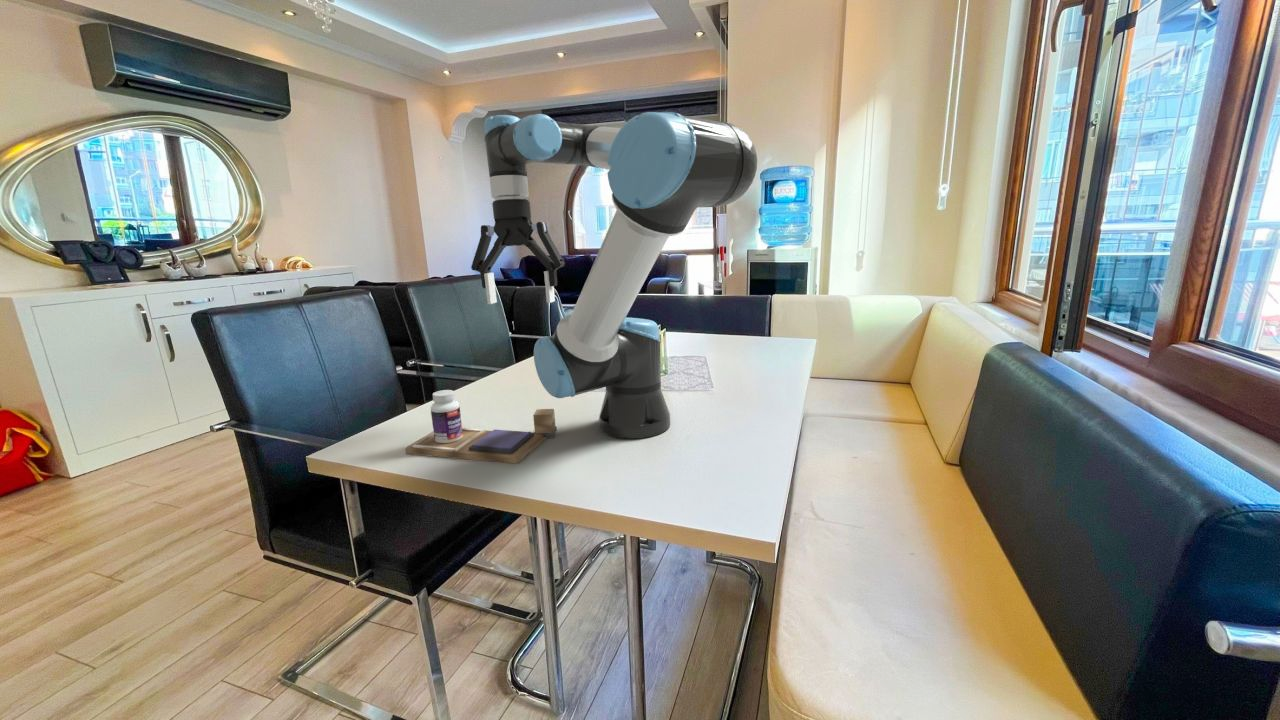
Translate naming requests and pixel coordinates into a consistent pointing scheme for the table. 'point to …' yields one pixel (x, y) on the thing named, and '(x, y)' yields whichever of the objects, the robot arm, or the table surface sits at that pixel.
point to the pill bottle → (446, 417)
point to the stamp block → (545, 423)
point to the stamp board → (480, 445)
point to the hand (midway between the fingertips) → (521, 302)
